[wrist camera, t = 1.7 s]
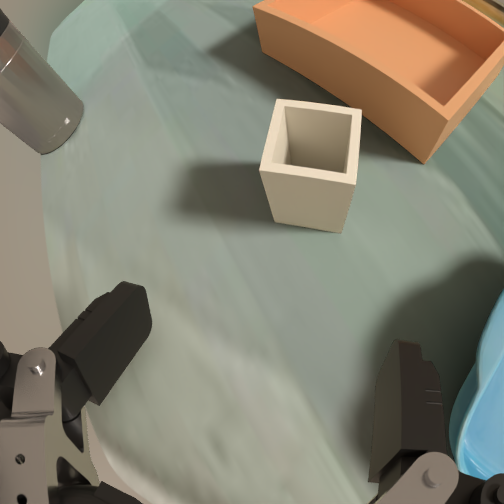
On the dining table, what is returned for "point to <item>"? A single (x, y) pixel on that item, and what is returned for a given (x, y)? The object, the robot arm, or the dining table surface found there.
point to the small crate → (311, 163)
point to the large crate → (390, 59)
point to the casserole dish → (482, 405)
